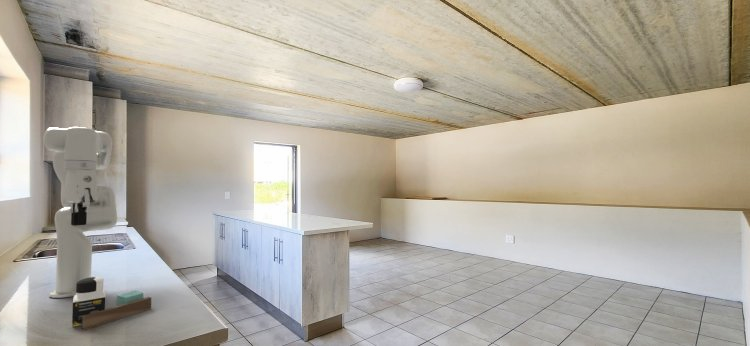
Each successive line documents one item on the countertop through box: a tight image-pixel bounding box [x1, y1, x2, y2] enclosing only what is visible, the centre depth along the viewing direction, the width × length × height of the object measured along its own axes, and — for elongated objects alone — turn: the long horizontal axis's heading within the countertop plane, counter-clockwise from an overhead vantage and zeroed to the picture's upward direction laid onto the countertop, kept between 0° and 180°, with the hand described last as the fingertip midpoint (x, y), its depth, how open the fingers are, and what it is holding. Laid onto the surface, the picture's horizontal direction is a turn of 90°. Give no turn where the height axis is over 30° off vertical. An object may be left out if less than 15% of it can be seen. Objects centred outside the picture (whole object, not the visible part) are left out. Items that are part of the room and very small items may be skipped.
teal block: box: [116, 290, 144, 306], centre depth 102 cm, size 5×5×5 cm
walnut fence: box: [81, 296, 152, 331], centre depth 96 cm, size 2×17×4 cm, turn 153°
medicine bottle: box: [71, 276, 107, 327], centre depth 95 cm, size 7×7×12 cm
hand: (78, 224), depth 101 cm, fingers closed
